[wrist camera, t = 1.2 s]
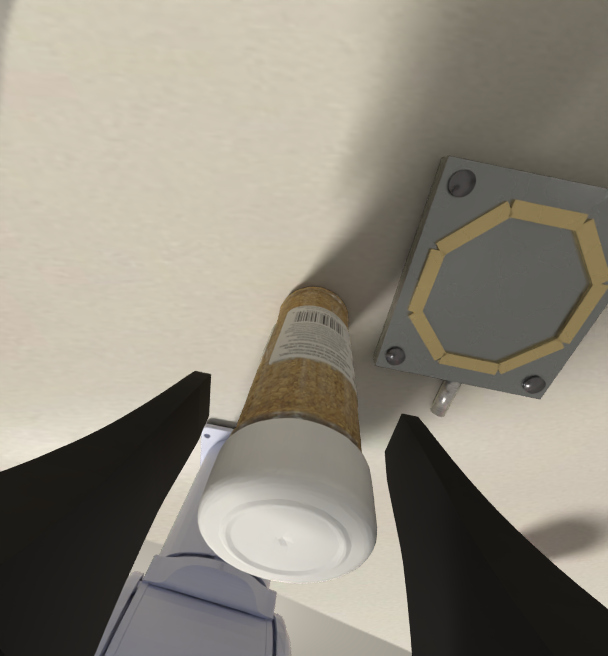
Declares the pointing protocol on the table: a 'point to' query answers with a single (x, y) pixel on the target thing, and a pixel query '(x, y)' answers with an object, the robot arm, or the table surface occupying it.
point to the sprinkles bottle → (295, 456)
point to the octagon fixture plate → (498, 280)
